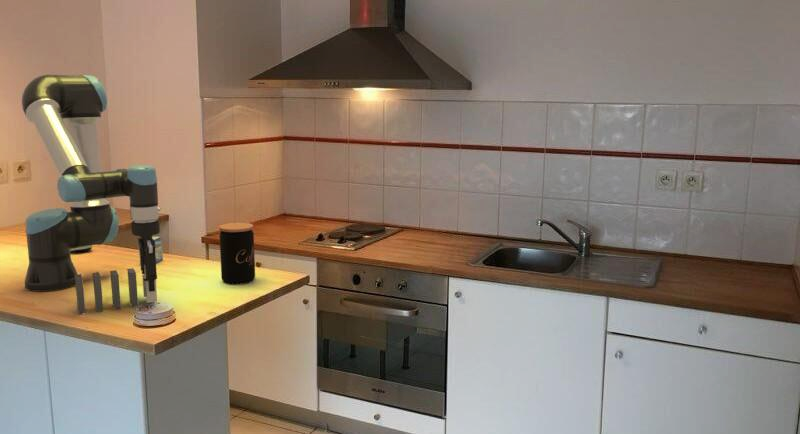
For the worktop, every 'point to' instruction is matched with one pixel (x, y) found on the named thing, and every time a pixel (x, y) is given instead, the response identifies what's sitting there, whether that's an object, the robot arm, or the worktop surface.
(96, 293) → the domino
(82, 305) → the domino
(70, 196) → the robot arm
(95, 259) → the worktop surface
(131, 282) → the domino
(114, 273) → the domino
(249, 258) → the coffee jar
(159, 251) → the medicine box
